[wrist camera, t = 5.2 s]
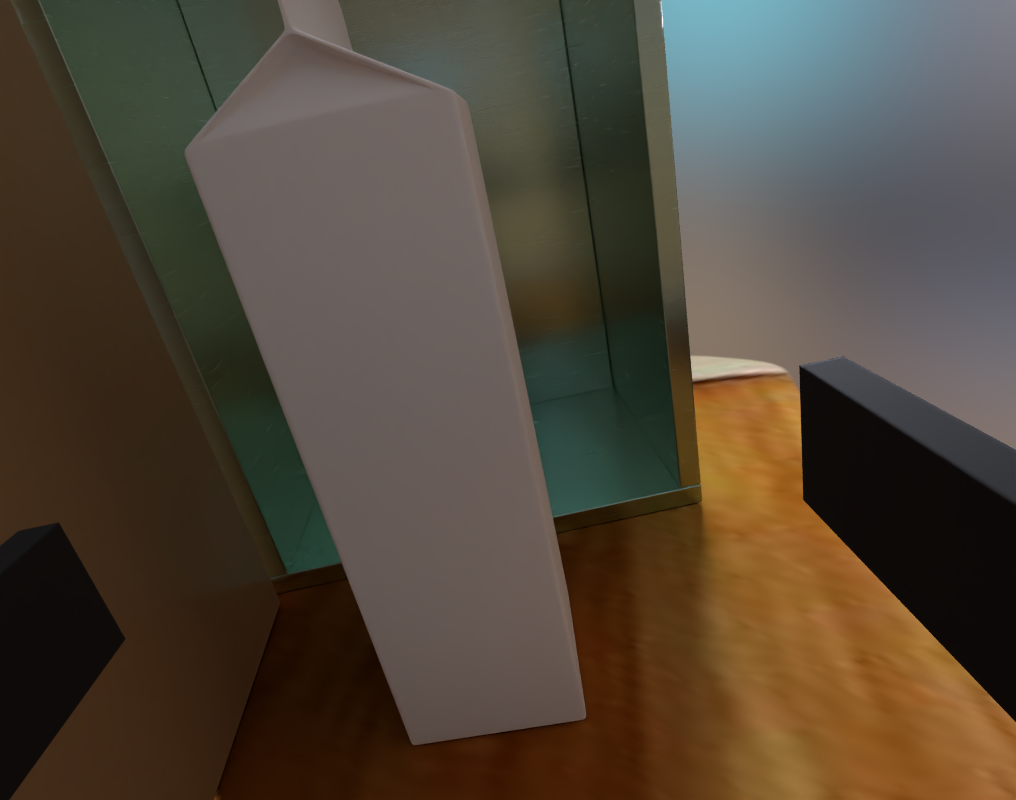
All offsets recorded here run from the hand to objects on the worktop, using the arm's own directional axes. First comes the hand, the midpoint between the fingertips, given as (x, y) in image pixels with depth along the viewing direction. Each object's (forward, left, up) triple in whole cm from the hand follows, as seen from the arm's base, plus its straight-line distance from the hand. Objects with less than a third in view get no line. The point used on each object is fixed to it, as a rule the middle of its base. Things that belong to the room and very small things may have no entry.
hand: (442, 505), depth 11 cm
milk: (-1, +8, -12) cm, 14 cm away
